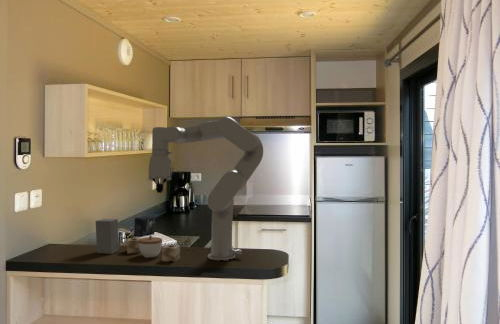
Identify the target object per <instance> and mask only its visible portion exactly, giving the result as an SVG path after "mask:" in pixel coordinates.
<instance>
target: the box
mask: <svg viewBox="0 0 500 324" xmlns="http://www.w3.org/2000/svg"><path fill="white" fill-rule="evenodd" d="M133 227H134V229H133V235H134V236H137V237H140V238H143V237H147V236H152V235H155V227H156V217H155V216H151V215H145V216H138V217H134V226H133Z"/></svg>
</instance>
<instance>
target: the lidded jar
mask: <svg viewBox="0 0 500 324" xmlns="http://www.w3.org/2000/svg"><path fill="white" fill-rule="evenodd" d="M148 236H149V237H147V236H145V237H140V238H141V239H139V240H138V242H139V250H140V253H139V254H141V255H142V256H143V258H146V259H147V258H150V257H151V258H156V257H157V256H158V255H159V253H160V252H162V247H163V246H162V245H163V238H161V237H157V236H156V237H155V236H152V235H148Z"/></svg>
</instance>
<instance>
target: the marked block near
mask: <svg viewBox="0 0 500 324" xmlns="http://www.w3.org/2000/svg"><path fill="white" fill-rule="evenodd" d="M161 252H162V253H161V262H169V261H173V262H172V263H176V262H177V261H178V259H179V260H180V259H181V245H175V244H167V245H164V246H162V248H161ZM175 261H176V262H175Z"/></svg>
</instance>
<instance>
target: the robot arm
mask: <svg viewBox="0 0 500 324" xmlns="http://www.w3.org/2000/svg"><path fill="white" fill-rule="evenodd" d="M151 134H152V135H151V136H152V137H151V139H152V140H151V141H152V143H151V156H150V158H149V163H148V164H149V165H148V178H147V179H148V180H149V181H153V183H155V190H156V192H157V194H160V193H161V194H162V193H163V191H164V184H165V183H166V182H167V181H171V180H172V173H173V172H172V171H173V170H172V160H171V156H169V155H172V151H170V150H169V143H174V144H186V143H187V144H188V143H189V144H190V143H195V142H202V141H203V142H204V141H211V140H215V139H226V140H227V141H229V142H230V143H232V144H233V145H234V146H235V147H237V148H238V149H240V150H241V151H244V154H243V155H242V157H240V159H239V160H238V162H237V163H236V164H235V166H234V167H233V168H232V170H229V171H226V172H225V173H224V174H223V175H222V176H221V178H220V179H219V180H218V181H217V183H216V184H215V186H214V187H213V189H212V190H211V191H210V193H209V194H208V197H207V199H206V200H207V201H206V203H207V206H208V208H209V209H210V210H211V211H212V212H211V243H210V244H211V245H210V246H211V247H210V248H211V250H210V253H208V255H207V258H208V259H209V260H212V261H220V260H223V261H230V260H229V259H231V260H233V258H234V259H235V258H236V255H242V249H234V246H233V220H234V218H233V215H234V203H235V199H234V198H235V196H236V195H237V194H238V193H239V191H241V190H242V189H243V188H244V187H245V186H246V184H247V183H248V182H249V179H250V178H251V177H252V175H254V172H255V171H256V169H257V168H258V167H259V165H260V163H261V162H262V160H263V157H264V145H263V143H262V140H261V139H260V137H259V136H258V135H257V134H255V133H253V132H251V131H249V130H248V129H246V128H245V127H243V126H242V125H241V124H239V122H238V121H237V120H236V119H235V118H232V117H230V116H224V117H221V118H220V119H217V120H215V119H214V120H209V121H208V120H207V121H202V122H201V123H199V124H197V125H193V126H186V127H180V126H167V127H165V126H155V127H153V128H152V133H151Z"/></svg>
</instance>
